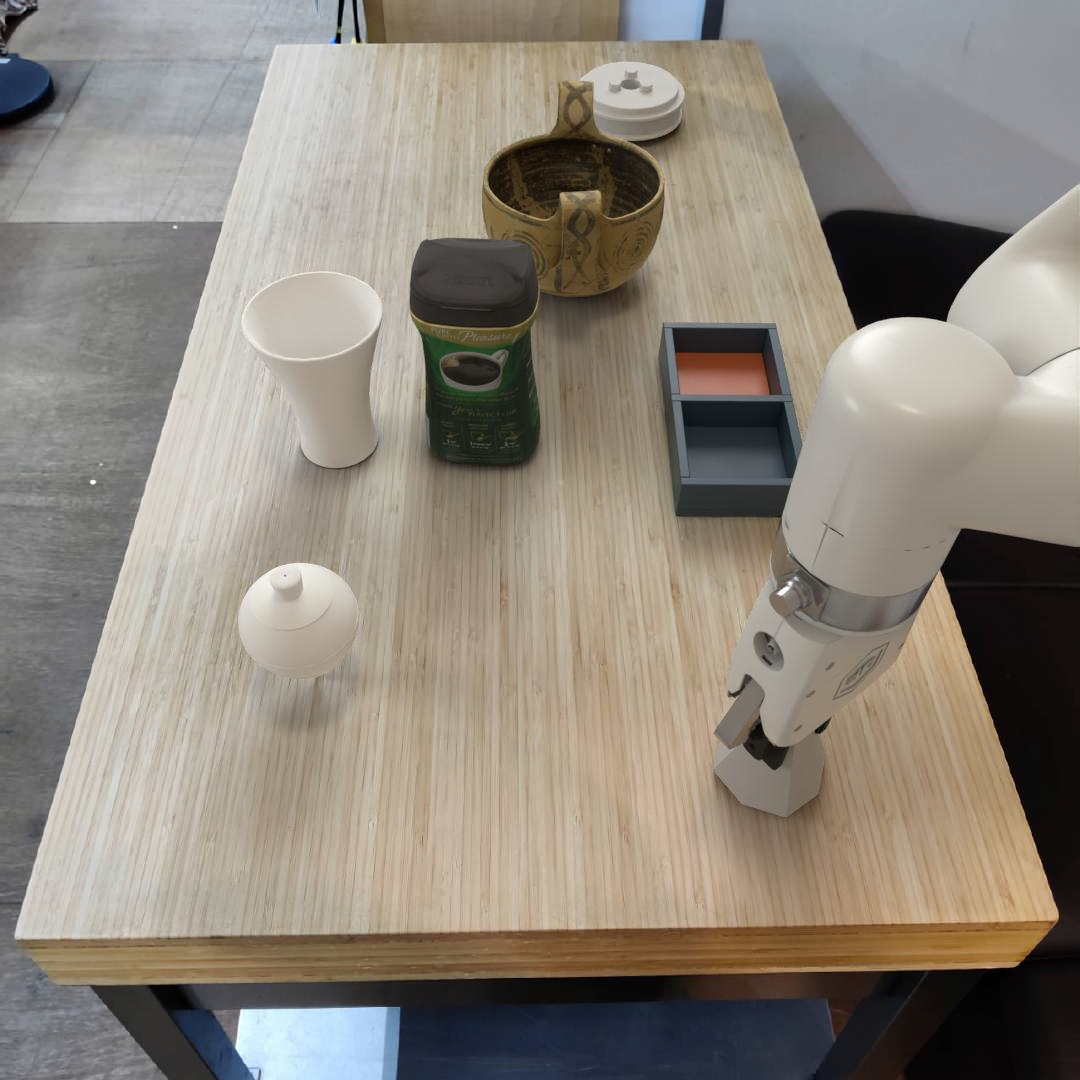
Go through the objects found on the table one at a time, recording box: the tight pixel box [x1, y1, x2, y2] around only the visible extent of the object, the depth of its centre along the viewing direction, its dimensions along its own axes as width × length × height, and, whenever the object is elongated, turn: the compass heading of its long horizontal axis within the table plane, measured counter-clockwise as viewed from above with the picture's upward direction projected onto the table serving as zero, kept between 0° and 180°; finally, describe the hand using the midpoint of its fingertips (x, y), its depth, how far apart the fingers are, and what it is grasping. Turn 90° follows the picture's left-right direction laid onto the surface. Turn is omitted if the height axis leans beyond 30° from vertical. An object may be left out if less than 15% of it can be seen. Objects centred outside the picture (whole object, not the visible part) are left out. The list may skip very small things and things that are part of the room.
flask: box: [712, 730, 826, 819], centre depth 61 cm, size 7×7×10 cm
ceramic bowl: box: [481, 79, 666, 298], centre depth 92 cm, size 22×17×15 cm
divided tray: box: [658, 321, 803, 518], centre depth 83 cm, size 19×10×4 cm, turn 0°
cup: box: [240, 270, 384, 469], centre depth 78 cm, size 10×10×14 cm
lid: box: [578, 61, 686, 142], centre depth 115 cm, size 13×13×5 cm
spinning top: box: [237, 562, 360, 680], centre depth 65 cm, size 8×8×12 cm
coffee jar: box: [408, 237, 541, 467], centre depth 77 cm, size 10×8×19 cm
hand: (781, 731), depth 62 cm, fingers closed on flask, 3 cm apart
